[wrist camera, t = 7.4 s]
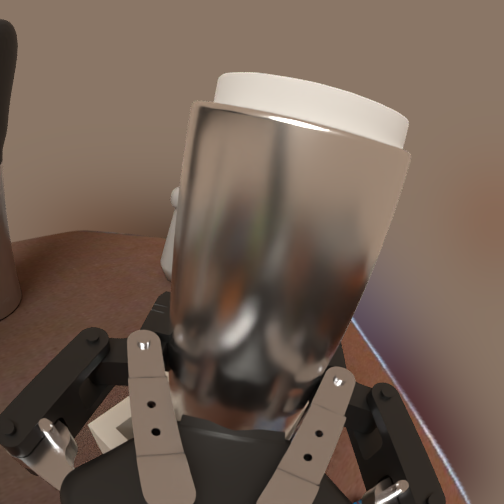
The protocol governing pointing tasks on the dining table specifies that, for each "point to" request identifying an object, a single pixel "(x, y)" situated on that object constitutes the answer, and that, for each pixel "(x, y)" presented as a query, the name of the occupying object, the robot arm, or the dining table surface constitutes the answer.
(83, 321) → the dining table surface
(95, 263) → the dining table surface
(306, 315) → the silver tall cylinder
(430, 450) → the dining table surface
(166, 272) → the salt shaker
